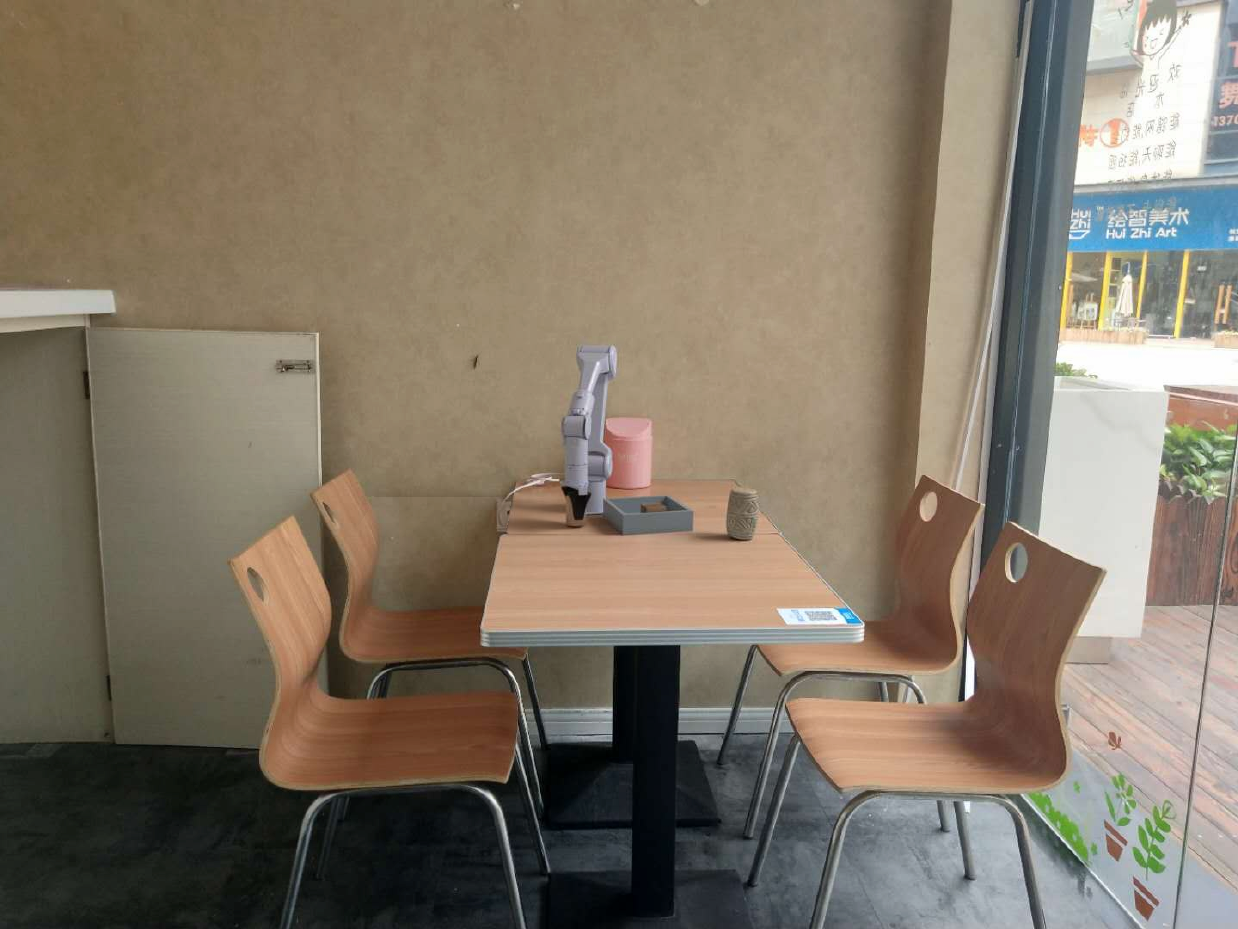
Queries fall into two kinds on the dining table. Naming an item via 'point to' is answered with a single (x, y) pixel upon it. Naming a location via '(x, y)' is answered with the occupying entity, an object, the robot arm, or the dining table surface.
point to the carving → (742, 513)
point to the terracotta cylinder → (570, 516)
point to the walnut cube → (652, 507)
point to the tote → (647, 515)
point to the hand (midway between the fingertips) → (575, 517)
